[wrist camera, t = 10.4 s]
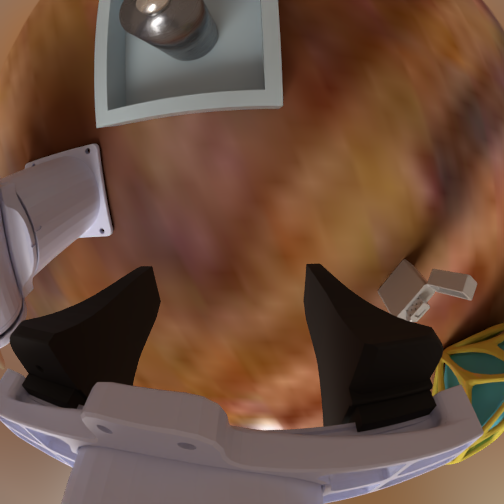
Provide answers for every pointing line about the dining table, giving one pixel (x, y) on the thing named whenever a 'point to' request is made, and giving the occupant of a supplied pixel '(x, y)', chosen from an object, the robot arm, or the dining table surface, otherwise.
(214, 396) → the dining table surface
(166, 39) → the battery cell
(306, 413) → the dining table surface
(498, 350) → the decorative object
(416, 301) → the lighter
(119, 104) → the dish
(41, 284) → the dining table surface
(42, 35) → the dining table surface
